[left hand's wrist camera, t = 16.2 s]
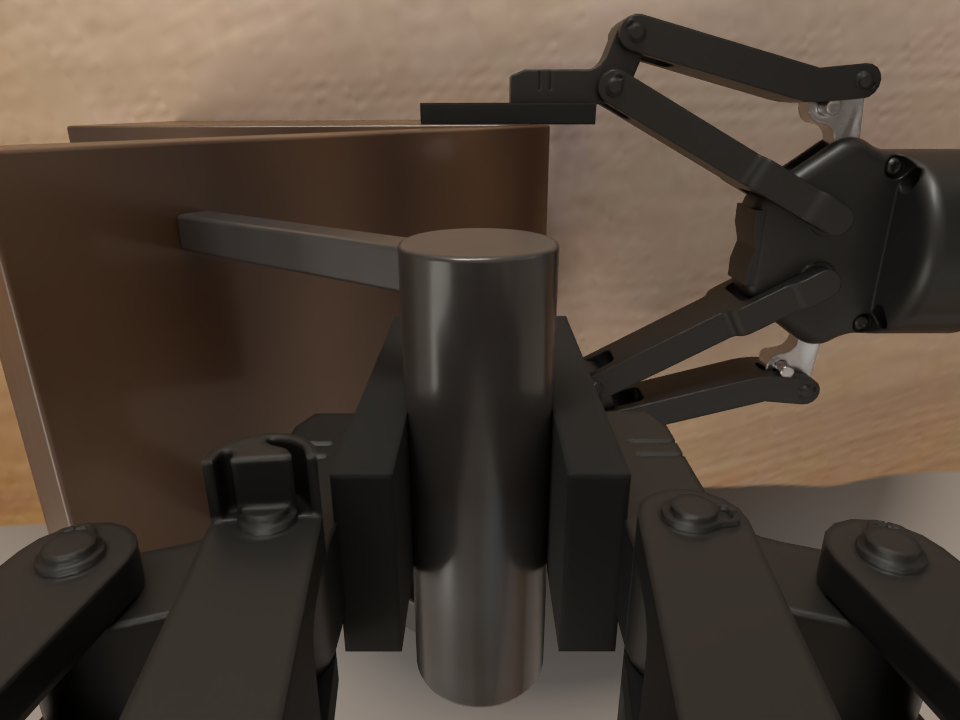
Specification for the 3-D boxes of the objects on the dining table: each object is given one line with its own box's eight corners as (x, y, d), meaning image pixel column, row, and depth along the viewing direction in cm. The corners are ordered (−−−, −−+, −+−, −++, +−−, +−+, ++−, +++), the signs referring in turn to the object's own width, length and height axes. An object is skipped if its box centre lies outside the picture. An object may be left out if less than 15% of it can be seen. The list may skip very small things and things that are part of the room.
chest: (201, 312, 35) (118, 374, 27) (171, 121, 32) (65, 126, 24) (516, 310, 35) (528, 371, 27) (519, 119, 32) (534, 124, 24)
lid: (74, 631, 14) (404, 915, 9) (-61, 147, 10) (354, 179, 6) (516, 374, 27) (746, 432, 22) (520, 124, 24) (794, 127, 19)
